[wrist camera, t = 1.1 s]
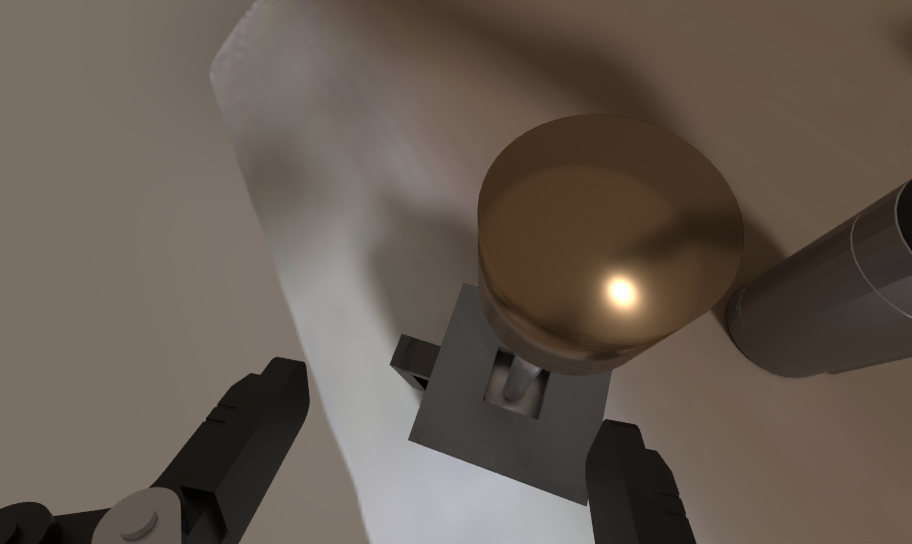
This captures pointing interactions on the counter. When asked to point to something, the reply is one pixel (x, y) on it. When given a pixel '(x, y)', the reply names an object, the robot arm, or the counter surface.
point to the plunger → (597, 249)
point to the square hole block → (492, 427)
